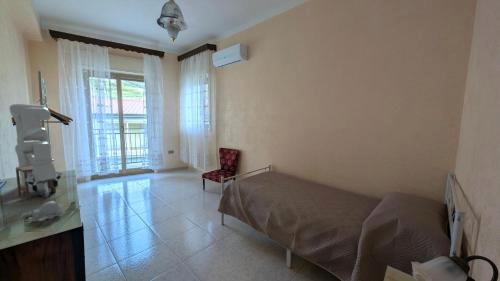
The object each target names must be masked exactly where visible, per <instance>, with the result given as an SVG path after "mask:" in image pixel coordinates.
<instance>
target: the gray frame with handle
mask: <svg viewBox="0 0 500 281" xmlns="http://www.w3.org/2000/svg"><path fill="white" fill-rule="evenodd" d="M42 183H43V190H40V191H37V192H29V197H30V198H35V197H39V196H40V197H42V198H44V199H45V198H49V196H50V194H51V193H52V192H51V188H49V187H48V181H44V182H42ZM23 193H24V194H23V196H26V190H23Z"/></svg>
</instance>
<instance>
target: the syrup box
mask: <svg viewBox="0 0 500 281" xmlns="http://www.w3.org/2000/svg"><path fill="white" fill-rule="evenodd" d="M30 176H32V173H29V174H27V178H29V177H30ZM30 181H31V182H33V179H30ZM42 182H44V181H39V182H37V184H36V185H37V191H40V190H43V183H42ZM28 185H29V192H35V191H33V189H32V185H31V184H29V183H28Z"/></svg>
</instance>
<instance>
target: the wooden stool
mask: <svg viewBox="0 0 500 281" xmlns="http://www.w3.org/2000/svg"><path fill="white" fill-rule="evenodd" d="M32 169H33V165H30V166H23V167H19V166H16V167H15V175H16V184H17V189H18V192H17V193H18V196H19V197H20V196H22V194H21V186H20V184H21V180H20V171H21V172H24V177H25V179H27V172H32ZM45 181H48V187H49V188H51V193H53V194H57V191H56V190H57V189H56V188H57V187H54V183H53V181H54V179H50V180H45ZM24 188H26V195H25V196H26V200H30V197H29V187H28V183H27V182H26V181H25V187H24Z"/></svg>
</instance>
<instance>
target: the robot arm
mask: <svg viewBox="0 0 500 281" xmlns="http://www.w3.org/2000/svg"><path fill="white" fill-rule="evenodd" d="M9 112H10V115H11V117H12V118H13V119H14V122H15V129H16V131H15V132H16V143H17V144H16V145H15V146H14V150H15V151H14V152H15V153H16V156H17V160H18V161H17V162H18V167H23V166H30V165H33V169H32V172H27V174H29V173H32V176H30V177H29V178H27V179H25V177H24V172H21V171H19V177H20V186H21V188H26V187H25V181H26V182H27V183H29V184H31V185H32V189H33V191H35V192H37V185H36V184H37V182H39V181H45V180H50V179H54V181H53V183H54V187H56V188H58V186H59V180H60V179H61V177H62V175H63V173H62V172H59V171H56V169H55V165H54V163H53V162H55V159H54V158H52V154H51V144H50V142H49V141H50V140H49V133H48V130H47V128H45V127H43V125H42V123H41V121H49V120H51V112H50V109H49V108H47V107H46V106H45V105H43V104H28V103H27V104H25V103H15V104H11V105H10V106H9ZM30 179H33V182H31V181H30ZM28 187H29V185H28Z"/></svg>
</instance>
